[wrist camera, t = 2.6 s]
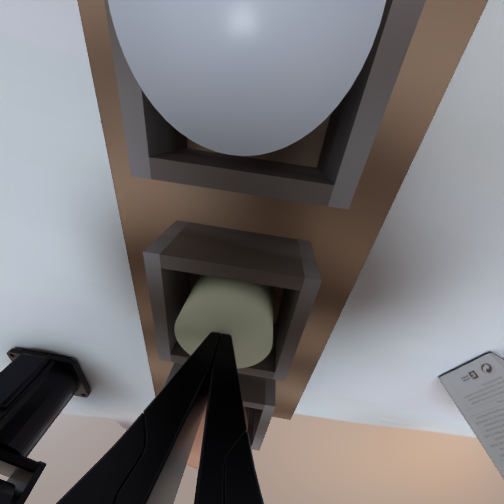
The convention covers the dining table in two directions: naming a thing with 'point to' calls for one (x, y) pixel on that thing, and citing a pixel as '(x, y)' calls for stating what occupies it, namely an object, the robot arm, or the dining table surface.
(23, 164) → the dining table surface
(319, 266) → the button panel
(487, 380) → the skincare box
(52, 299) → the dining table surface
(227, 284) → the sage button
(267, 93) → the slate button
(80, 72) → the dining table surface
